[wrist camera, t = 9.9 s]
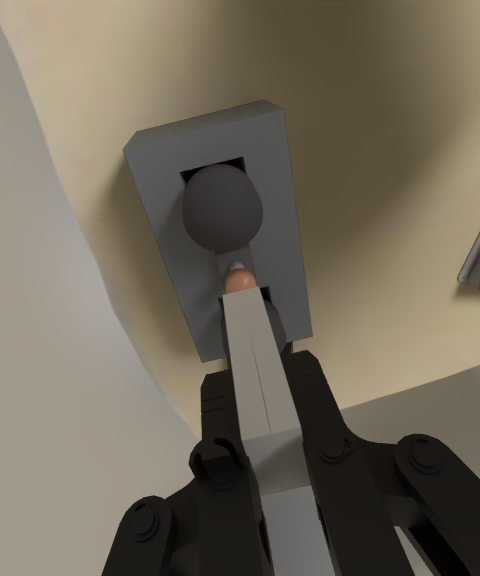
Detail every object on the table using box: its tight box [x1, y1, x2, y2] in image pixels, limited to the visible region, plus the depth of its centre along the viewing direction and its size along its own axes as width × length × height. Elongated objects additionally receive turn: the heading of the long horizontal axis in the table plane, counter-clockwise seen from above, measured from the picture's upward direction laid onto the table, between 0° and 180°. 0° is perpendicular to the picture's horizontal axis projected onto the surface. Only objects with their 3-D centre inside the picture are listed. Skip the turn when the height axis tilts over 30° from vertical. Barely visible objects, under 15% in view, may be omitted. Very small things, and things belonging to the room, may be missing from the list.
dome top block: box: [215, 243, 257, 294], centre depth 30 cm, size 3×3×5 cm
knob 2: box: [221, 299, 286, 360], centre depth 36 cm, size 6×6×10 cm
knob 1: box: [182, 164, 263, 252], centre depth 29 cm, size 6×6×10 cm
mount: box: [123, 100, 313, 363], centre depth 35 cm, size 22×12×8 cm, turn 12°
